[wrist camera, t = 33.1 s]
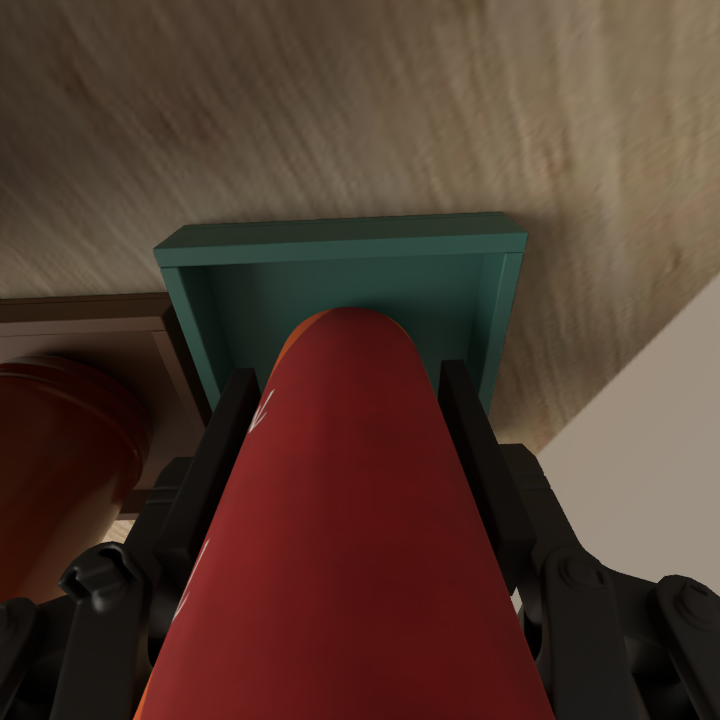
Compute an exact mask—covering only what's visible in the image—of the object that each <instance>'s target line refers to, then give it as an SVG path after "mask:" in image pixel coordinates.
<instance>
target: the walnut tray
mask: <svg viewBox="0 0 720 720" xmlns="http://www.w3.org/2000/svg"><path fill="white" fill-rule="evenodd" d="M25 355H50V356H57V357H63V358H68V359H72V360H75V361H79V362H82V363H84V364H87V365H90V366H92V367H95V368H97V369H99V370H101V371H103V372H105V373H107V374H109V375H111V376H112V377H114V378H115V379H117V380H118V381H120V382H121V383H122V384H124V385H125V386H126V387H127V388H128V389H129V390H131V391H132V392H133V393H134V394H135V395H136V396H137V397H138V399H139V400H140V401H141V402H142V404H143V405H144V406H145V408H146V410H147V411H148V413H149V415H150V418H151V420H152V424H153V429H154V438H153V442H152V445H151V448H150V452H149V457H148V460H147V462H146V464H145V466H144V468H143V473H142V476H141V478H140V480H139V482H138V483H137V485H136V486H135V487H134V488H133V489H132V491H131V493H130V495H129V497H128V498H127V500H126V502H125V504H124V505H123V507H122V509H121V511H120V512H119V514H118V516H117V518H116V519H115V520H136V519H137V517H138V515H139V513H140V511H141V509H142V507H143V505H145V504H146V502H145V501H146V499H147V497H148V496H149V494H150V492H151V491H152V490H153V486H154V484H155V482H156V480H157V478H158V476H159V474H160V472H161V471H162V470H163V469H164V468H165V467H166V466H167V465H168V464H169V463H170V462H171V461H172V460H173V459H174V458H175V457H194V455H195V453H196V450H197V448H198V446H199V444H200V441H201V439H202V437H203V435H204V432H205V430H206V428H207V426H208V423H209V421H210V419H211V417H212V415H213V412H212V410H211V407H210V404H209V401H208V399H207V396H206V393H205V391H204V388H203V385H202V382H201V380H200V377H199V374H198V371H197V369H196V366H195V363H194V360H193V358H192V355H191V352H190V350H189V347H188V344H187V341H186V339H185V336H184V333H183V330H182V328H181V325H180V322H179V320H178V317H177V314H176V311H175V309H174V306H173V303H172V300H171V298H170V295H169V293H154V294H130V295H106V296H82V297H58V298H34V299H10V300H0V363H1V362H3V361H5V360H8V359H11V358H14V357H19V356H25Z"/></svg>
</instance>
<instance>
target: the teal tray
mask: <svg viewBox="0 0 720 720" xmlns="http://www.w3.org/2000/svg"><path fill="white" fill-rule="evenodd" d="M528 234H529V233H528V232H527V231H526V230H524V229H523V228H522V227H521V226H519V225H518V224H517V223H515V222H514V221H513V220H511V219H510V218H509V217H507V216H506V215H505V214H503V213H502V212H485V213H462V214H439V215H416V216H393V217H371V218H348V219H325V220H302V221H279V222H257V223H234V224H211V225H188V226H183V227H181V228H180V229H179V230H177V231H176V232H175V233H173V234H172V235H171V236H169V237H168V238H167V239H165V240H164V241H163V242H161V243H160V244H159V245H157V246H156V247H155V248H153V252H154V255H155V257H156V260H157V263H158V266H159V267H161V268H160V270H161V273H162V276H163V279H164V281H165V284H166V287H167V289H168V292H169V295H170V298H171V300H172V303H173V306H174V309H175V311H176V314H177V317H178V320H179V322H180V325H181V328H182V330H183V333H184V336H185V339H186V341H187V344H188V347H189V350H190V352H191V355H192V358H193V360H194V363H195V366H196V369H197V371H198V374H199V377H200V380H201V382H202V385H203V388H204V391H205V393H206V396H207V399H208V401H209V404H210V407H211V410H212V412H214V410H215V408H216V406H217V403H218V401H219V399H220V397H221V394H222V392H223V390H224V388H225V385H226V383H227V381H228V379H229V376H230V374H231V372H232V370H233V368H254V369H255V373H256V377H257V381H258V385H259V389H260V392H261V396H262V395H263V392H264V390H265V388H266V385H267V383H268V380H269V378H270V375H271V373H272V371H273V368H274V366H275V364H276V361H277V359H278V357H279V354H280V352H281V350H282V348H283V346H284V344H285V342H286V341H287V339H288V337H289V336H290V335H291V333H292V332H293V331H294V330H295V329H296V327H297V326H299V325H300V324H301V323H302V322H303V321H305V320H306V319H308V318H309V317H311V316H313V315H315V314H317V313H319V312H322V311H325V310H329V309H333V308H340V307H359V308H365V309H370V310H373V311H376V312H379V313H381V314H384V315H386V316H387V317H389V318H391V319H392V320H394V321H395V322H397V323H398V324H399V325H400V326H401V327H402V328H403V329H404V330H405V331H406V332H407V334H408V335H409V336H410V338H411V339H412V341H413V343H414V345H415V347H416V349H417V351H418V354H419V356H420V358H421V361H422V363H423V366H424V368H425V370H426V373H427V375H428V378H429V381H430V383H431V386H432V389H433V391H434V394H435V396H436V399H437V397H438V388H439V379H440V370H441V361H442V360H457V359H463V361H464V363H465V366H466V368H467V370H468V373H469V375H470V378H471V380H472V382H473V385H474V387H475V389H476V392H477V394H478V397H479V399H480V401H481V404H482V406H483V409H484V411H485V413H486V416H487V418H488V414H489V410H490V405H491V400H492V396H493V391H494V387H495V382H496V378H497V373H498V369H499V364H500V360H501V355H502V351H503V346H504V342H505V337H506V333H507V328H508V324H509V319H510V315H511V310H512V306H513V301H514V296H515V292H516V287H517V283H518V278H519V274H520V269H521V265H522V260H523V256H524V253H523V252H524V251H525V248H526V243H527V239H528Z"/></svg>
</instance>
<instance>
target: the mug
mask: <svg viewBox="0 0 720 720" xmlns="http://www.w3.org/2000/svg"><path fill="white" fill-rule="evenodd" d="M153 438H154V429H153V424H152V420H151V418H150V415H149V413H148V411H147V410H146V408H145V406H144V405H143V404H142V402H141V401H140V400H139V399H138V397H137V396H136V395H135V394H134V393H133V392H132V391H131V390H129V389H128V388H127V387H126V386H125V385H124V384H122V383H121V382H120V381H118V380H117V379H115V378H114V377H112V376H111V375H109V374H107V373H105V372H103V371H101V370H99V369H97V368H95V367H92V366H90V365H87V364H84V363H82V362H79V361H75V360H72V359H68V358H63V357H57V356H50V355H25V356H19V357H14V358H11V359H8V360H5V361H3V362H1V363H0V603H2V602H3V601H6V600H10V599H13V598H16V597H22V598H29V599H30V600H31V601H33V602H34V603H35V604H36V605H39V604H42V603H44V602H47V601H50V600H53V599H56V598H59V597H61V596H64V595H67V594H66V593H65V592H64V591H63V590H62V589H61V588H60V587H59V586H57V584H58V582H59V580H60V578H61V576H62V574H63V572H64V570H65V569H66V568H67V567H68V566H69V565H70V563H71V562H72V561H73V560H74V559H75V558H76V557H78V556H79V555H80V554H82V553H83V552H84V551H85V550H87V549H89V548H91V547H93V546H95V545H98V544H100V543H101V542H102V540H103V539H104V537H105V536H106V534H107V532H108V531H109V529H110V528H111V526H112V524H113V523H114V521H115V519H116V518H117V516H118V514H119V512H120V511H121V509H122V507H123V505H124V504H125V502H126V500H127V498H128V497H129V495H130V493H131V491H132V489H133V488H134V487H135V486H136V485H137V483H138V482H139V480H140V478H141V476H142V473H143V468H144V466H145V464H146V462H147V460H148V457H149V452H150V448H151V445H152V442H153Z"/></svg>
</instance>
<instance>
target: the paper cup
mask: <svg viewBox="0 0 720 720" xmlns="http://www.w3.org/2000/svg"><path fill="white" fill-rule="evenodd" d="M133 720H556V719H555V717H554V714H553V711H552V709H551V706H550V703H549V701H548V698H547V695H546V692H545V690H544V687H543V684H542V682H541V679H540V676H539V674H538V671H537V668H536V665H535V663H534V660H533V657H532V655H531V652H530V649H529V647H528V644H527V641H526V638H525V636H524V633H523V630H522V628H521V625H520V622H519V620H518V617H517V614H516V612H515V609H514V606H513V603H512V601H511V598H510V595H509V593H508V590H507V587H506V584H505V582H504V579H503V576H502V574H501V571H500V568H499V565H498V563H497V560H496V557H495V555H494V552H493V549H492V547H491V544H490V541H489V538H488V536H487V533H486V530H485V528H484V525H483V522H482V520H481V517H480V514H479V511H478V509H477V506H476V503H475V501H474V498H473V495H472V492H471V490H470V487H469V484H468V482H467V479H466V476H465V474H464V471H463V468H462V466H461V463H460V460H459V458H458V455H457V452H456V450H455V447H454V444H453V442H452V439H451V436H450V434H449V431H448V428H447V425H446V423H445V420H444V417H443V415H442V412H441V409H440V407H439V404H438V402H437V399H436V396H435V394H434V391H433V389H432V386H431V383H430V381H429V378H428V375H427V373H426V370H425V368H424V366H423V363H422V361H421V358H420V356H419V354H418V351H417V349H416V347H415V345H414V343H413V341H412V339H411V338H410V336H409V335H408V334H407V332H406V331H405V330H404V329H403V328H402V327H401V326H400V325H399V324H398V323H397V322H395V321H394V320H392V319H391V318H389V317H387V316H386V315H384V314H381V313H379V312H376V311H373V310H370V309H365V308H359V307H340V308H333V309H329V310H325V311H322V312H319V313H317V314H315V315H313V316H311V317H309V318H308V319H306V320H305V321H303V322H302V323H301V324H300V325H299V326H297V327H296V329H295V330H294V331H293V332H292V333H291V335H290V336H289V337H288V339H287V341H286V342H285V344H284V346H283V348H282V350H281V352H280V354H279V357H278V359H277V361H276V364H275V366H274V368H273V371H272V373H271V375H270V378H269V380H268V383H267V385H266V388H265V390H264V392H263V395H262V397H261V400H260V402H259V405H258V407H257V410H256V412H255V415H254V417H253V420H252V422H251V425H250V427H249V430H248V432H247V434H246V437H245V439H244V442H243V444H242V447H241V449H240V452H239V454H238V457H237V459H236V462H235V464H234V467H233V469H232V472H231V474H230V477H229V479H228V482H227V484H226V487H225V489H224V492H223V494H222V497H221V500H220V502H219V505H218V507H217V510H216V512H215V515H214V517H213V520H212V522H211V525H210V527H209V530H208V532H207V535H206V537H205V540H204V542H203V545H202V547H201V550H200V552H199V555H198V557H197V560H196V563H195V565H194V568H193V570H192V573H191V575H190V578H189V580H188V583H187V585H186V588H185V590H184V593H183V595H182V598H181V600H180V603H179V605H178V608H177V610H176V613H175V615H174V618H173V620H172V623H171V626H170V628H169V631H168V633H167V636H166V638H165V641H164V643H163V646H162V648H161V651H160V653H159V656H158V658H157V661H156V663H155V666H154V668H153V671H152V673H151V676H150V678H149V681H148V683H147V686H146V688H145V691H144V693H143V696H142V698H141V701H140V704H139V706H138V709H137V711H136V714H135V716H134V719H133Z"/></svg>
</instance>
